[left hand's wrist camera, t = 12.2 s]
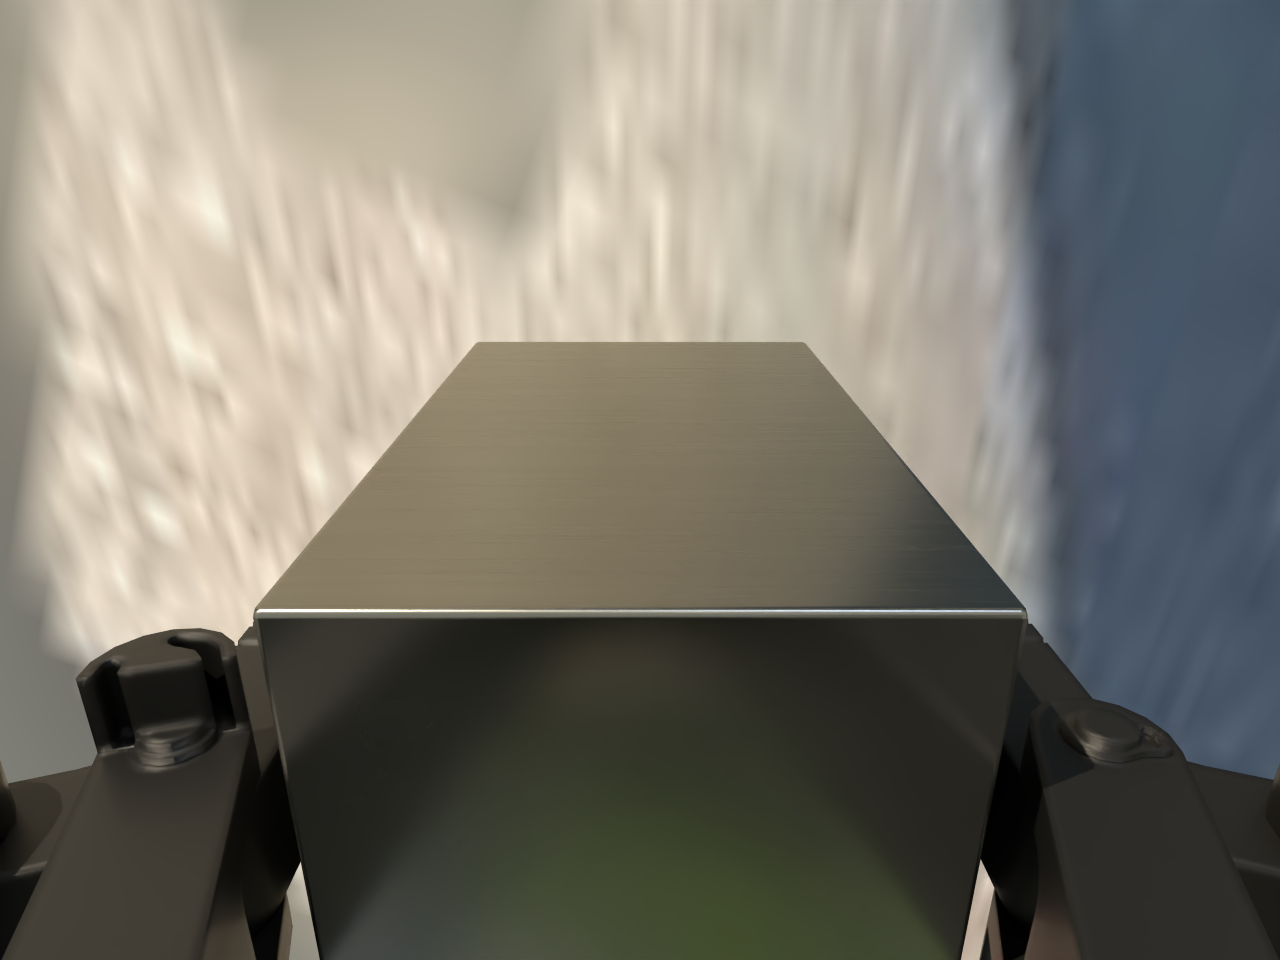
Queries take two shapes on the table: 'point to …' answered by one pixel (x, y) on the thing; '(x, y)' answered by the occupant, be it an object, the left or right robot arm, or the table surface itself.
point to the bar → (640, 673)
